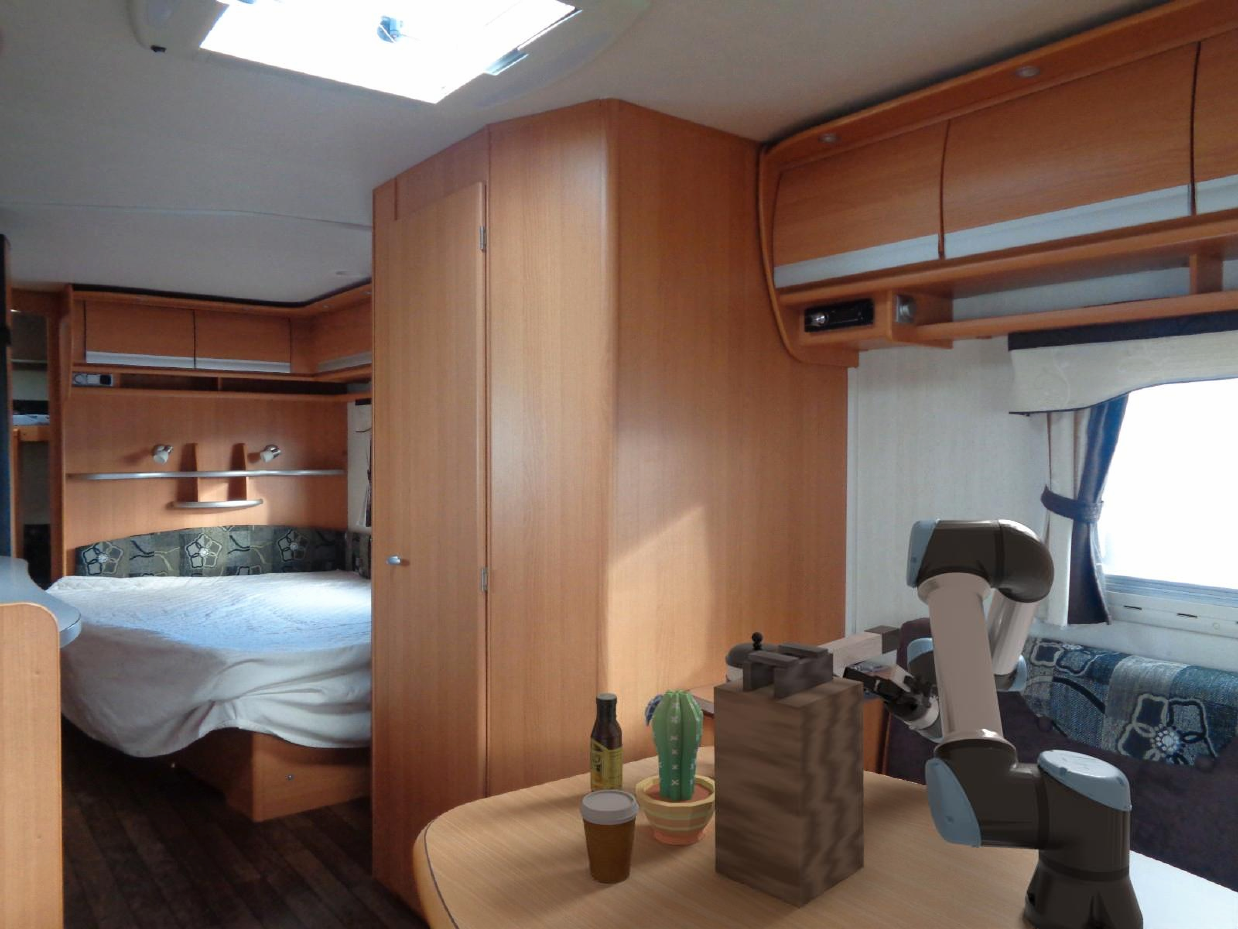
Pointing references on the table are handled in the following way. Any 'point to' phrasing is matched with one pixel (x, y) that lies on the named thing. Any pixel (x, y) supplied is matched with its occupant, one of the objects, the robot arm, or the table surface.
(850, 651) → the white bar dark ends
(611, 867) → the disposable coffee cup
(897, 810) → the table surface
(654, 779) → the potted cactus
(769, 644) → the coffee press
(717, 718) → the walnut post
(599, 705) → the sauce bottle
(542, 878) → the table surface
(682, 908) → the table surface
